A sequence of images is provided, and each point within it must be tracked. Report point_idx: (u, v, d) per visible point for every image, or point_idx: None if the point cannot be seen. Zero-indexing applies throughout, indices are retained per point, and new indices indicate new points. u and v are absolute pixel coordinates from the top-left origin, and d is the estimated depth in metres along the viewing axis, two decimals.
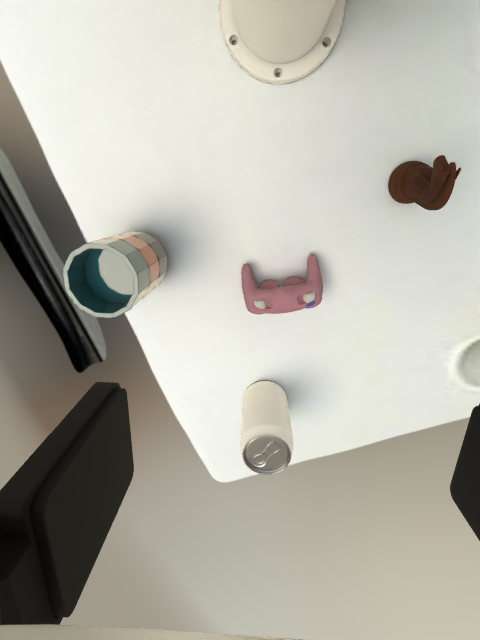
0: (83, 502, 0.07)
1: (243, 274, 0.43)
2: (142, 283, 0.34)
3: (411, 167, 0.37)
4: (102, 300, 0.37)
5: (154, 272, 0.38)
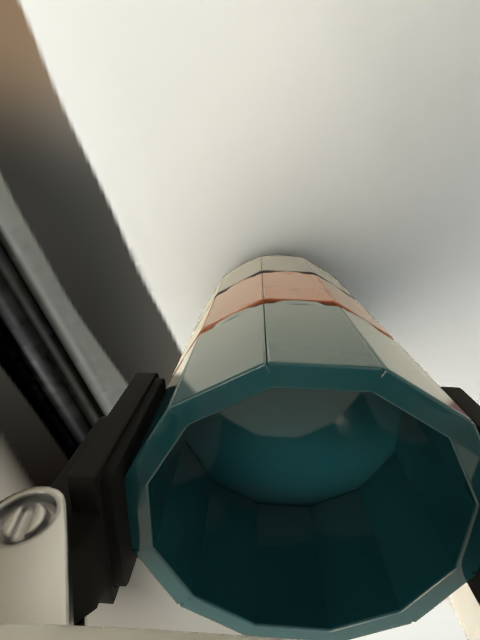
0: None
1: None
2: None
3: None
4: (239, 505, 0.11)
5: None
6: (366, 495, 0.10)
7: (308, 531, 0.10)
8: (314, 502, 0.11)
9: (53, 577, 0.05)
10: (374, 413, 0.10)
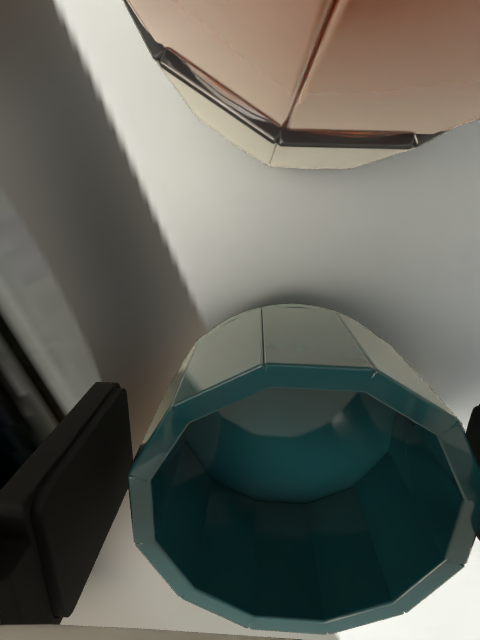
0: (83, 502, 0.07)
1: None
2: None
3: None
4: (238, 502, 0.11)
5: None
6: (361, 492, 0.11)
7: (305, 527, 0.10)
8: (311, 499, 0.11)
9: None
10: (368, 413, 0.10)
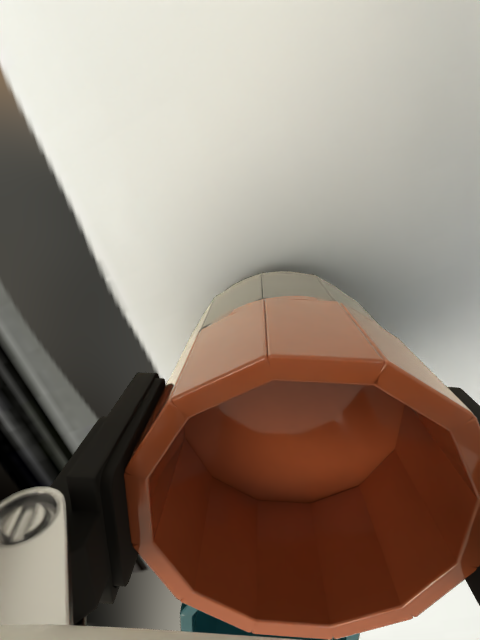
0: None
1: None
2: None
3: None
4: None
5: None
6: None
7: None
8: None
9: (53, 577, 0.05)
10: None
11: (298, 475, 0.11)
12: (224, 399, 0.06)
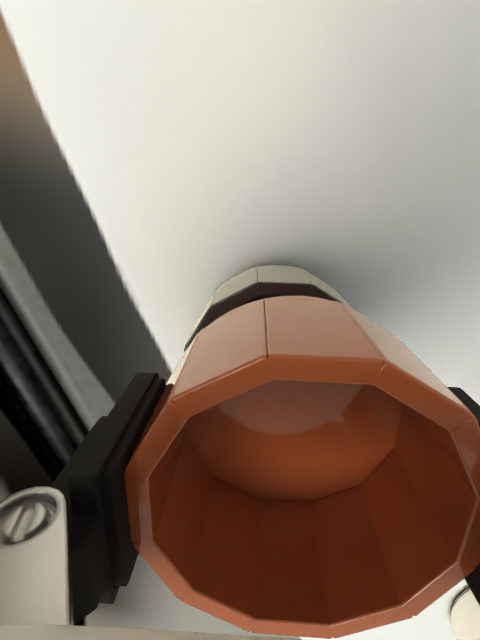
0: None
1: None
2: None
3: None
4: None
5: None
6: None
7: None
8: None
9: (53, 577, 0.05)
10: None
11: (298, 475, 0.11)
12: (224, 398, 0.06)
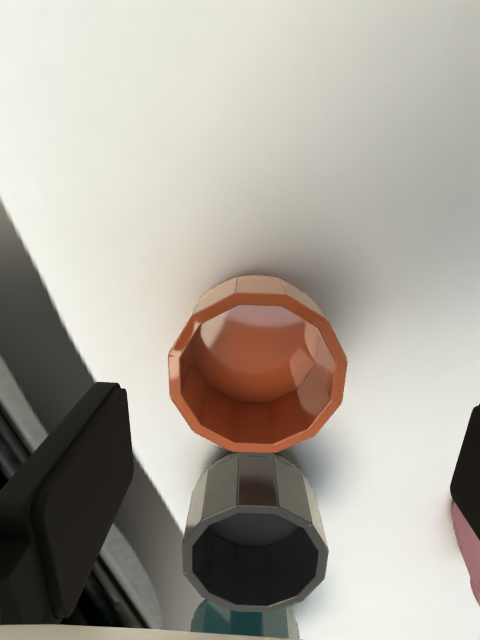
0: (83, 502, 0.07)
1: (473, 536, 0.20)
2: None
3: None
4: None
5: None
6: None
7: None
8: None
9: None
10: None
11: (260, 384, 0.18)
12: (217, 315, 0.13)
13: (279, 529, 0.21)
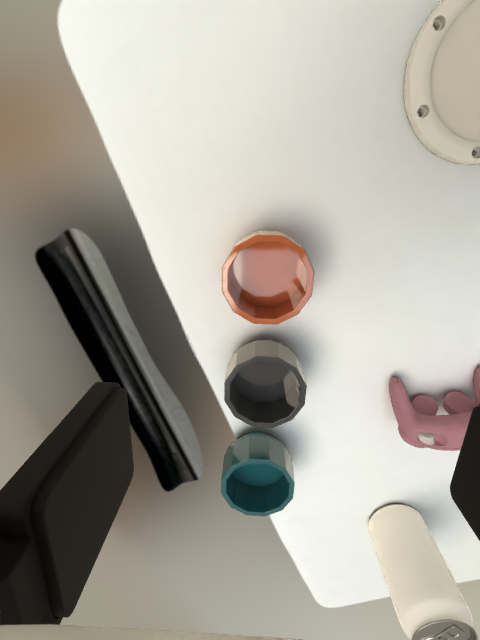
0: (83, 502, 0.07)
1: (398, 394, 0.33)
2: None
3: None
4: (243, 486, 0.38)
5: None
6: (278, 483, 0.38)
7: (262, 493, 0.38)
8: (265, 485, 0.38)
9: None
10: None
11: (269, 295, 0.31)
12: (247, 246, 0.27)
13: (280, 390, 0.34)
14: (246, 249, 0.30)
